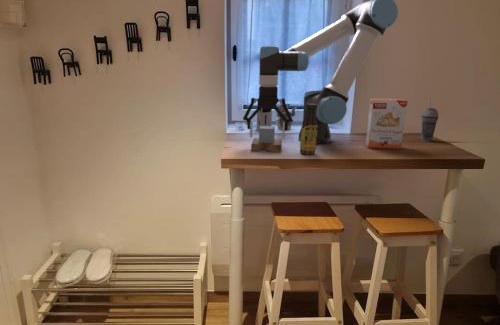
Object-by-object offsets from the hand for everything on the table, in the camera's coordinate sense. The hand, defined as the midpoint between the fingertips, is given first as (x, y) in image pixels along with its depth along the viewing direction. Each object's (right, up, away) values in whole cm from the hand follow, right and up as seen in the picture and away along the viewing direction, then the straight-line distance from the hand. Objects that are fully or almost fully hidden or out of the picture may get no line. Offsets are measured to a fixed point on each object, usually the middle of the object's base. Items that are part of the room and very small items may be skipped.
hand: (267, 137), depth 155 cm
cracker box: (+51, -4, +6) cm, 51 cm away
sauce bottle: (+16, -7, -6) cm, 19 cm away
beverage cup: (+77, 0, +20) cm, 79 cm away
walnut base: (0, -5, +1) cm, 5 cm away
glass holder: (-1, +6, +39) cm, 40 cm away
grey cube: (0, -2, +1) cm, 2 cm away
